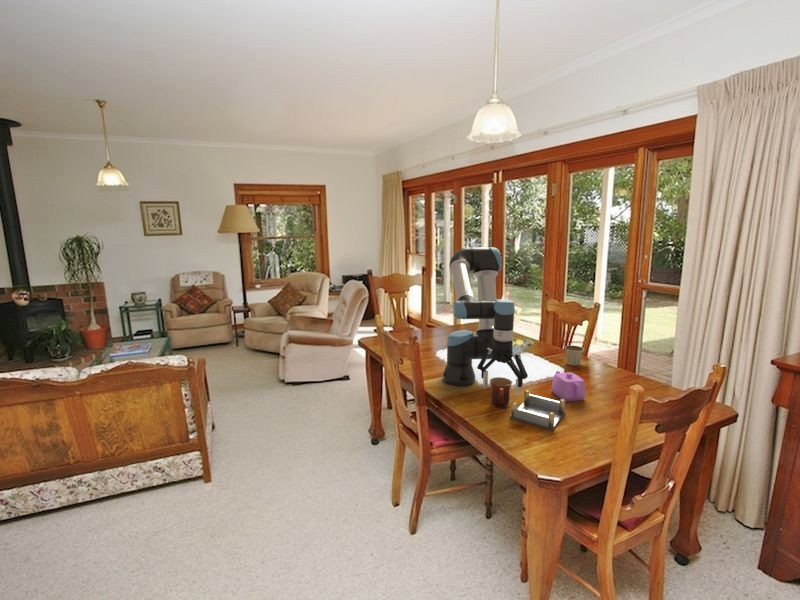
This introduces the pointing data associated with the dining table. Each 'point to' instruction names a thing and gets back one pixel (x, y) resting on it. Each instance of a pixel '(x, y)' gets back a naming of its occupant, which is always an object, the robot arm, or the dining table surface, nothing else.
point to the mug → (500, 392)
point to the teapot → (568, 386)
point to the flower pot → (573, 354)
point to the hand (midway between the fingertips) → (501, 390)
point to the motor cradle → (538, 411)
